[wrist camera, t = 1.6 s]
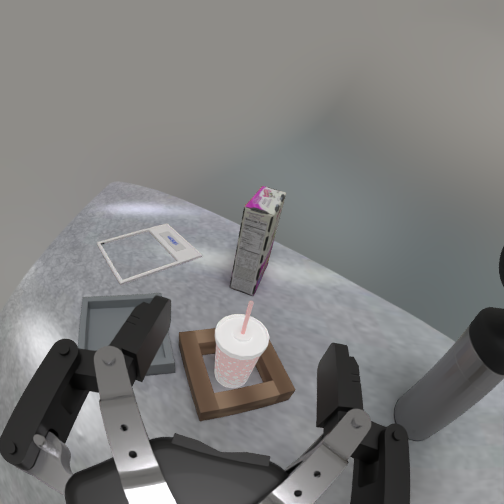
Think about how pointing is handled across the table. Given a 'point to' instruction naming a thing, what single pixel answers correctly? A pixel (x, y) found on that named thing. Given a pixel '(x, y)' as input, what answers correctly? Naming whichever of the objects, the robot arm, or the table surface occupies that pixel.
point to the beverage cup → (238, 347)
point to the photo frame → (167, 239)
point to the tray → (117, 326)
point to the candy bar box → (256, 239)
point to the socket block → (236, 400)
